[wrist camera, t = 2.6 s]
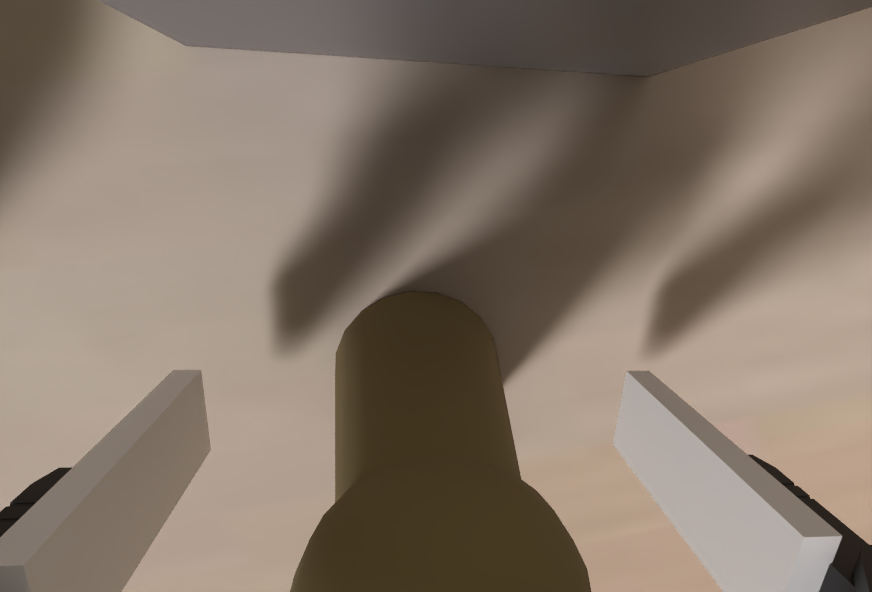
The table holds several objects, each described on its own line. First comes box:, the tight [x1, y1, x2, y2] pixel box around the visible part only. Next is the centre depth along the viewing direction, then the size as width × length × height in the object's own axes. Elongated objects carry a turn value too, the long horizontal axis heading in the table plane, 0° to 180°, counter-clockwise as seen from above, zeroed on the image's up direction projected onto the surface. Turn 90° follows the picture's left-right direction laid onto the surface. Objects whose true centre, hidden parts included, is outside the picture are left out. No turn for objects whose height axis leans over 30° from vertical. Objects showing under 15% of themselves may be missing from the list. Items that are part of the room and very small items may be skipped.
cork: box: [290, 291, 591, 592], centre depth 11 cm, size 6×6×11 cm
